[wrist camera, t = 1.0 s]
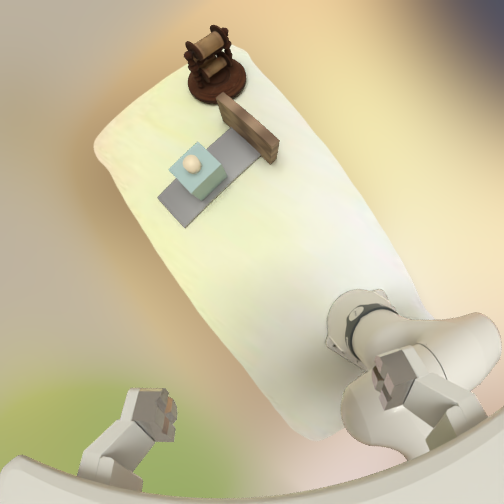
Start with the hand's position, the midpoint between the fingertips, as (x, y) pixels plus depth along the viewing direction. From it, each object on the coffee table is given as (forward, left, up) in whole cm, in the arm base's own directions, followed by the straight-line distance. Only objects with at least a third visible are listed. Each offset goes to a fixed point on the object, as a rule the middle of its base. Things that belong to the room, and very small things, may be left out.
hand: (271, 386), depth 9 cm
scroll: (+42, -24, -53) cm, 72 cm away
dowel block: (+24, -4, -52) cm, 57 cm away
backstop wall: (+24, -18, -53) cm, 61 cm away
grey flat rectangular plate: (+24, -5, -53) cm, 58 cm away
